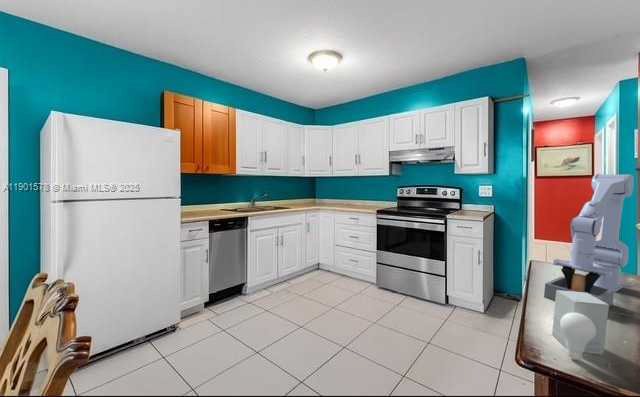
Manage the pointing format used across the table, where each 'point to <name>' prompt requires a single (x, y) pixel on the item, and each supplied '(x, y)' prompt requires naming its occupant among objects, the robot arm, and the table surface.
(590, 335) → the lightbulb
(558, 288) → the box
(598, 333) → the supplement box
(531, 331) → the table surface
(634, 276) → the table surface
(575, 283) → the peg
